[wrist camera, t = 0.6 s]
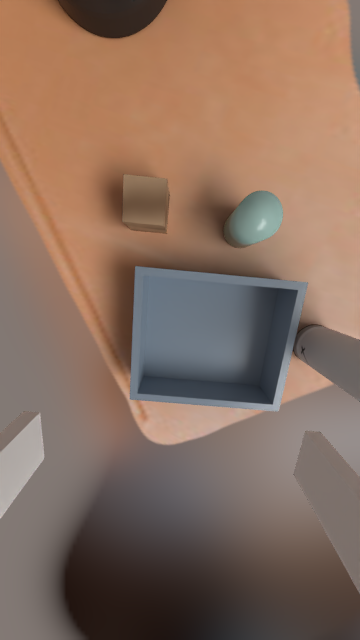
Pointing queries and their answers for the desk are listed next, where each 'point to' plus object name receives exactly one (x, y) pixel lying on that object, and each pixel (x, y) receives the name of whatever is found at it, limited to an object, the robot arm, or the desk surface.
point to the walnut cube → (145, 203)
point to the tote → (212, 338)
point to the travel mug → (331, 356)
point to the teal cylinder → (253, 219)
